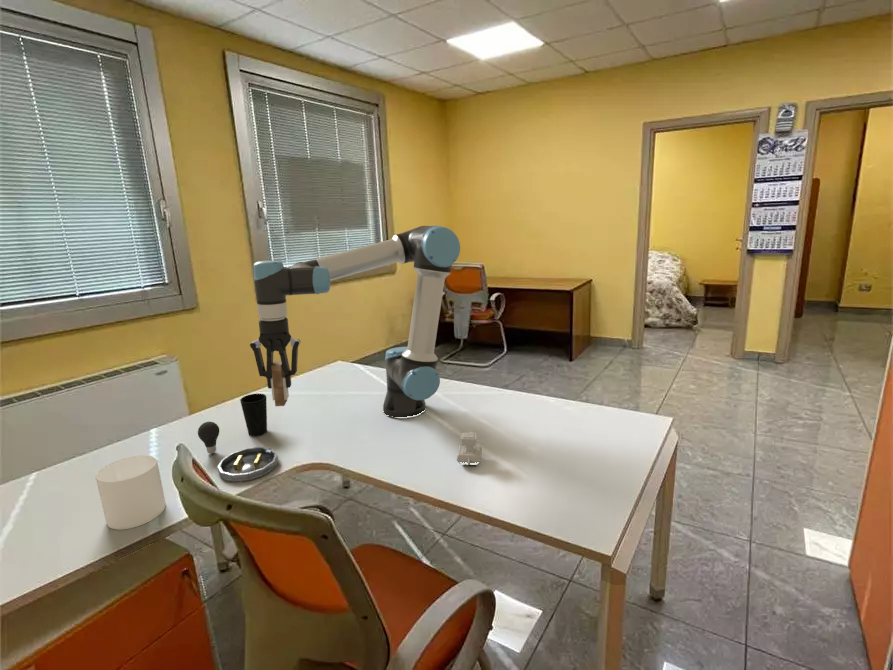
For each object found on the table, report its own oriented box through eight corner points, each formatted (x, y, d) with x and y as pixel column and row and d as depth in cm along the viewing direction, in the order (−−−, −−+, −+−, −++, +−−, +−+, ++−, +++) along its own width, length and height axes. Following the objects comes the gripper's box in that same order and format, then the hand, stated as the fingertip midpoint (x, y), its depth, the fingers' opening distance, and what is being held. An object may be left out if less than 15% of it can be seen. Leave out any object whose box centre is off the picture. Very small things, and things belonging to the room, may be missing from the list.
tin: (282, 451, 134) (281, 443, 134) (270, 479, 120) (269, 470, 119) (229, 456, 132) (227, 448, 132) (210, 485, 118) (209, 476, 117)
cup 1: (140, 495, 114) (131, 452, 111) (177, 503, 111) (169, 458, 108) (93, 525, 103) (82, 478, 100) (132, 534, 100) (122, 486, 97)
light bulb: (227, 450, 136) (222, 419, 133) (212, 459, 131) (206, 427, 128) (212, 447, 138) (207, 417, 135) (197, 456, 132) (191, 425, 130)
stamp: (481, 471, 122) (481, 443, 120) (456, 470, 123) (456, 442, 121) (481, 454, 131) (482, 428, 129) (459, 454, 132) (458, 427, 129)
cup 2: (261, 438, 143) (256, 403, 140) (239, 437, 144) (234, 401, 141) (275, 428, 150) (271, 394, 147) (254, 426, 151) (249, 392, 148)
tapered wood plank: (287, 399, 133) (283, 360, 130) (284, 405, 128) (280, 365, 125) (278, 400, 132) (275, 361, 129) (275, 406, 128) (271, 365, 125)
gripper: (304, 314, 129) (310, 392, 134) (247, 316, 127) (256, 394, 132) (299, 320, 122) (306, 401, 127) (239, 321, 120) (248, 404, 125)
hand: (280, 398), depth 130 cm, fingers closed on tapered wood plank, 2 cm apart
